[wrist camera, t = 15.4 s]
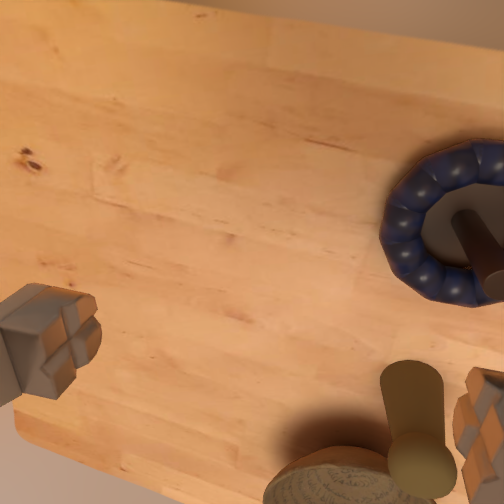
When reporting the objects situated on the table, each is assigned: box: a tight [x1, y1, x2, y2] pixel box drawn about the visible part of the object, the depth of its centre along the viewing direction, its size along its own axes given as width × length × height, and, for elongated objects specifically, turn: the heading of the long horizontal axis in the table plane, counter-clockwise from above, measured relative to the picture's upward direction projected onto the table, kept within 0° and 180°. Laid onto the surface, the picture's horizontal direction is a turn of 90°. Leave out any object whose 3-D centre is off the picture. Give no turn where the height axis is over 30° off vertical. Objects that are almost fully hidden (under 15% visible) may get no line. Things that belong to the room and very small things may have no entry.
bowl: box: [263, 446, 436, 504], centre depth 43 cm, size 18×18×8 cm
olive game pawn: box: [380, 360, 457, 499], centre depth 35 cm, size 6×6×11 cm
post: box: [421, 183, 504, 300], centre depth 26 cm, size 8×8×11 cm
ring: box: [379, 138, 504, 308], centre depth 29 cm, size 13×13×3 cm
